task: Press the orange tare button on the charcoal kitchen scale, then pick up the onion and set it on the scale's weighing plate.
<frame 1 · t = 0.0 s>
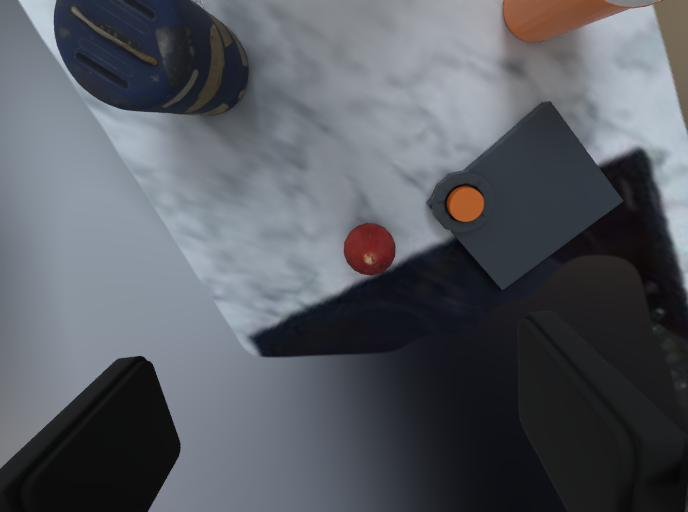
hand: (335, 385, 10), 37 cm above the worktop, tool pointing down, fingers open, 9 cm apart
shaker bottle: (537, 3, 39), on the worktop
onion: (369, 239, 47), on the worktop
canister: (210, 70, 42), on the worktop
scale: (518, 200, 45), on the worktop
tare button: (465, 203, 41), point 4 cm above the worktop, slide at 0.1 cm
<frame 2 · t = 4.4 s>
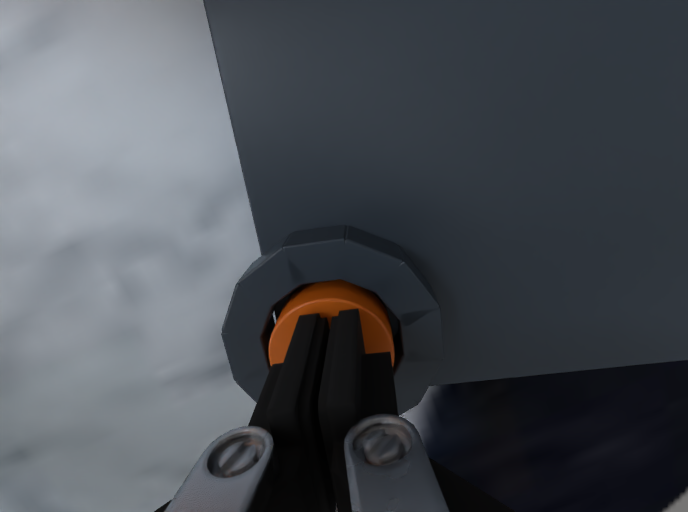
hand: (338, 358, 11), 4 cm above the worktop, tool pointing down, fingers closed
scale: (463, 142, 13), on the worktop
tare button: (332, 342, 12), point 3 cm above the worktop, slide at -0.5 cm, touching gripper
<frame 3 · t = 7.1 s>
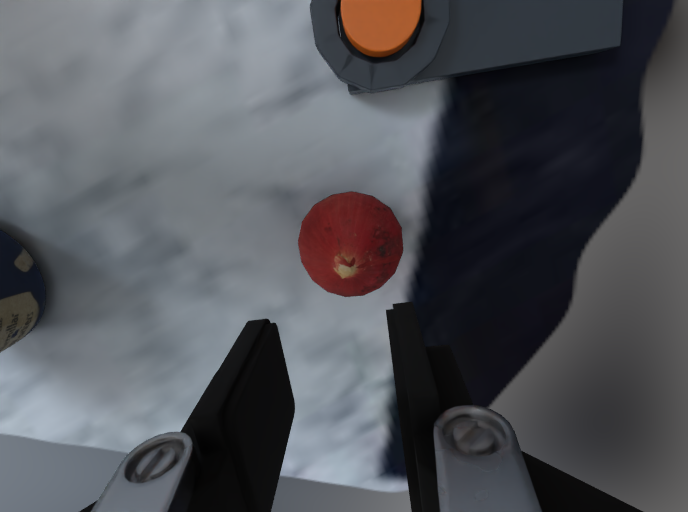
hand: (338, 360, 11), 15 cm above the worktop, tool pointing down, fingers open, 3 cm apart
onion: (352, 227, 25), on the worktop
tare button: (380, 11, 18), point 4 cm above the worktop, slide at 0.1 cm
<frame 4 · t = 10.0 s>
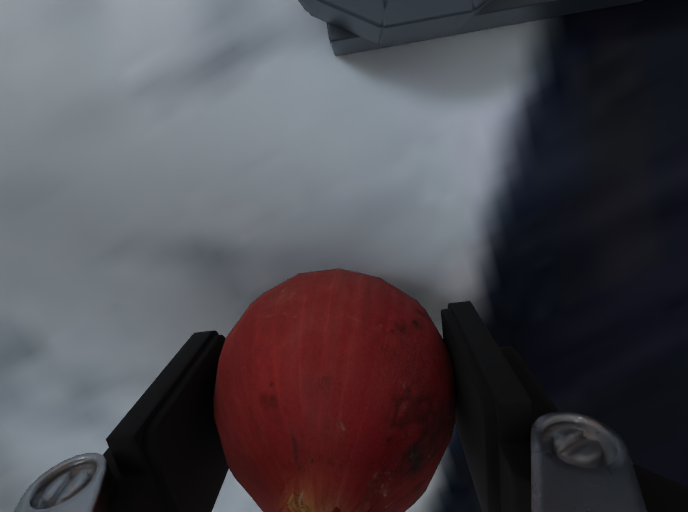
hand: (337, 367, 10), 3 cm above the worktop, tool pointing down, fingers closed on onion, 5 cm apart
onion: (343, 314, 13), on the worktop, touching gripper
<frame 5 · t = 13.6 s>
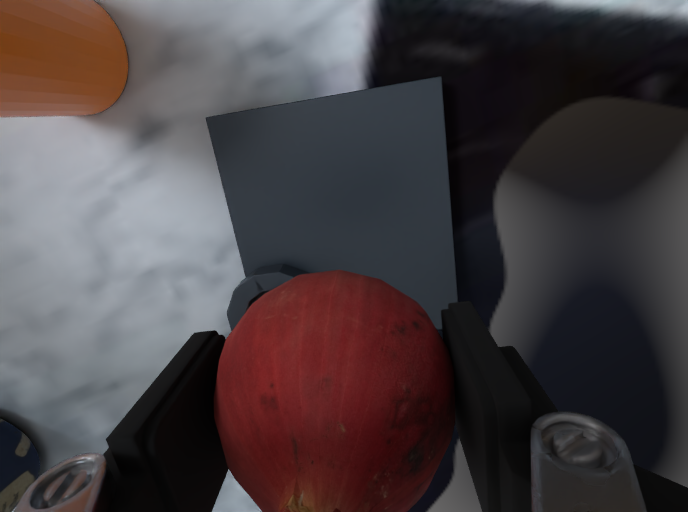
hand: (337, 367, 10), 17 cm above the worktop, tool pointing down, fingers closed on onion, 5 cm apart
shaker bottle: (76, 56, 24), on the worktop
onion: (343, 315, 13), point 14 cm above the worktop, touching gripper
canister: (0, 445, 35), on the worktop
scale: (343, 222, 27), on the worktop
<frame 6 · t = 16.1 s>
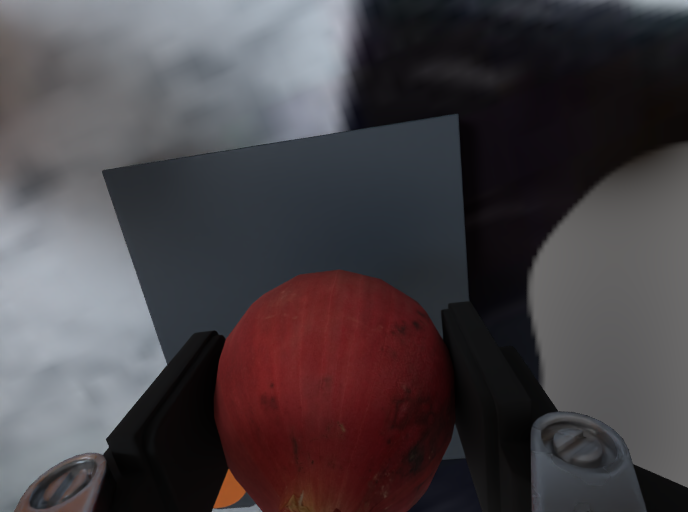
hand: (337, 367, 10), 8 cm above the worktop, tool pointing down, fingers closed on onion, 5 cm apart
onion: (343, 315, 13), point 5 cm above the worktop, touching gripper
scale: (314, 309, 19), on the worktop
tare button: (213, 462, 17), point 4 cm above the worktop, slide at 0.1 cm
when the fingers open (5 cm above the worktop, at t = 17.6 s): onion stays where it is, resting on scale.
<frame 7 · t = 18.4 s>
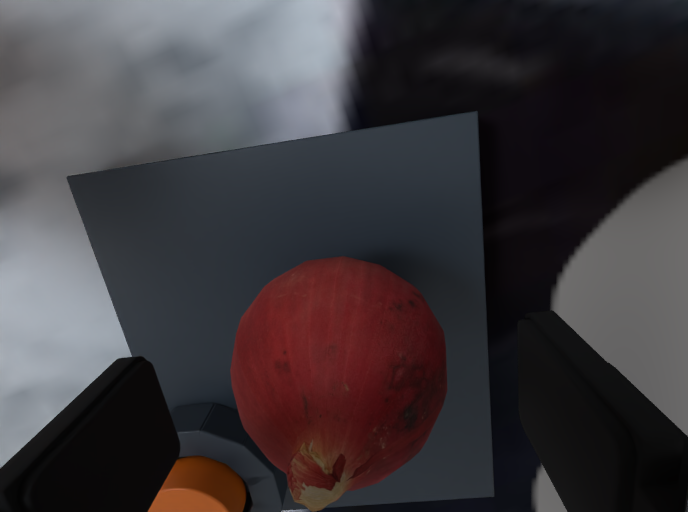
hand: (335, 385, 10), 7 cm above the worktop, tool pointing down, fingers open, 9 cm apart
onion: (346, 301, 15), point 2 cm above the worktop, touching scale
scale: (311, 331, 17), on the worktop
tare button: (196, 506, 15), point 4 cm above the worktop, slide at 0.1 cm
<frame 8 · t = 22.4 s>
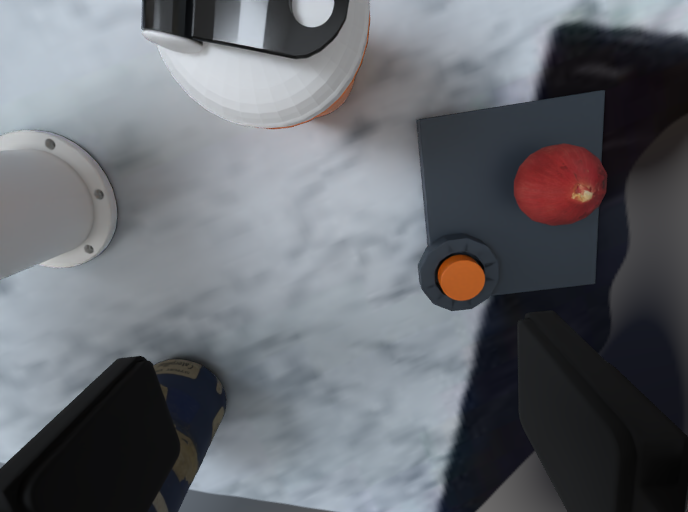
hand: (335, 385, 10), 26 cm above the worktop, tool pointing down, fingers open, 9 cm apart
shaker bottle: (312, 71, 32), on the worktop
onion: (535, 178, 32), point 2 cm above the worktop, touching scale
canister: (188, 389, 42), on the worktop
scale: (504, 202, 34), on the worktop
tare button: (460, 277, 32), point 4 cm above the worktop, slide at 0.1 cm
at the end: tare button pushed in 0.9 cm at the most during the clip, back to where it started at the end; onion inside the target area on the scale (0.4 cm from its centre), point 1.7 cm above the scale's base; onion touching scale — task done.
